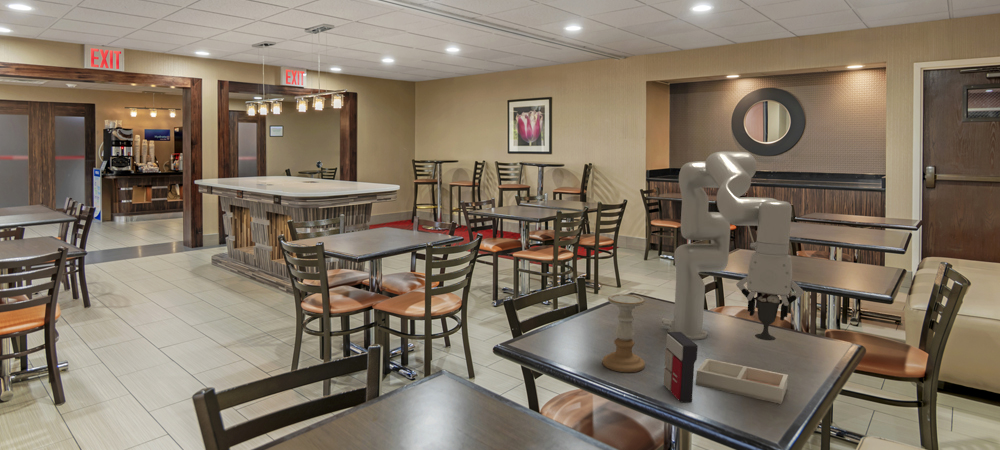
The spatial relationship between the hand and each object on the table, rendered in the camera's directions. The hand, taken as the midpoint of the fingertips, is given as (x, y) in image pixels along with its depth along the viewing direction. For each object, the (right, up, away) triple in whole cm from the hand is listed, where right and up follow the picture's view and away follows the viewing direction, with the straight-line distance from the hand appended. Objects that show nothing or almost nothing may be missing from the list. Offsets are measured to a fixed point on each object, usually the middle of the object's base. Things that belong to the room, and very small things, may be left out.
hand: (767, 316), depth 147 cm
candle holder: (-33, -18, +20) cm, 42 cm away
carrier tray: (-4, -20, +5) cm, 21 cm away
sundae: (0, -6, +1) cm, 6 cm away
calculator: (-23, -20, +1) cm, 31 cm away
